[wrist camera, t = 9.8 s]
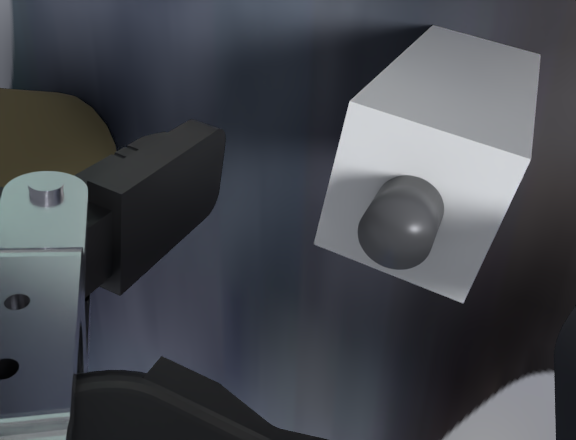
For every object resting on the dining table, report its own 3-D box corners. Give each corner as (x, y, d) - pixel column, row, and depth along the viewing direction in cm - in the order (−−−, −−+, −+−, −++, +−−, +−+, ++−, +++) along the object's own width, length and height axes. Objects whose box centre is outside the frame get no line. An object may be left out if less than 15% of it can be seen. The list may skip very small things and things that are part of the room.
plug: (540, 54, 20) (527, 188, 10) (498, 153, 22) (454, 342, 12) (432, 24, 21) (327, 121, 11) (402, 122, 23) (291, 274, 13)
